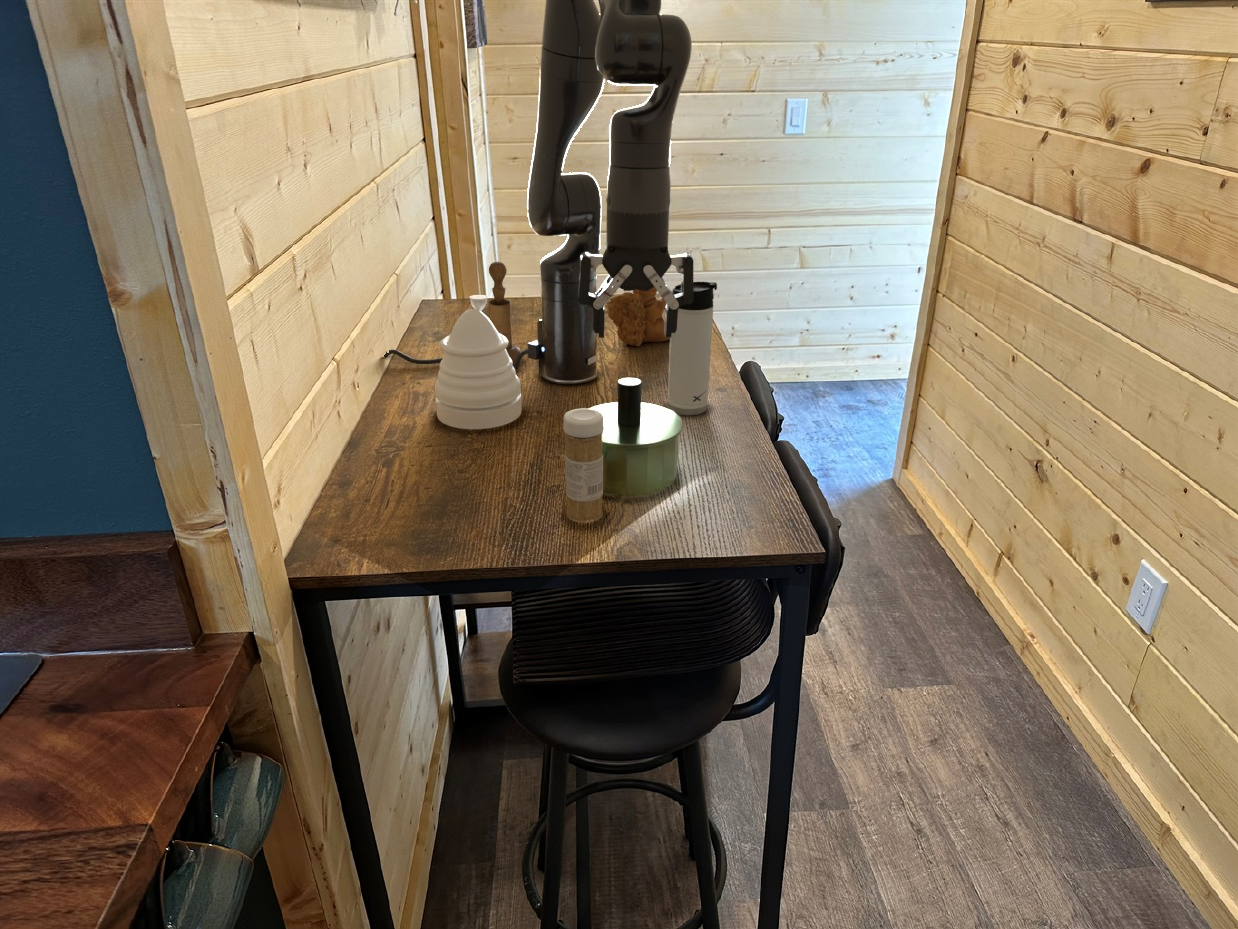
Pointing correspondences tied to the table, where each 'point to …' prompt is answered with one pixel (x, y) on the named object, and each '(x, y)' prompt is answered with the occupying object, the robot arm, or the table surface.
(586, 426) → the sprinkles bottle
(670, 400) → the travel mug
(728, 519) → the table surface
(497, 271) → the mortar and pestle
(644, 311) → the stuffed squirrel
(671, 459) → the pot
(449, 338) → the honey pot
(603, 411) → the lid
